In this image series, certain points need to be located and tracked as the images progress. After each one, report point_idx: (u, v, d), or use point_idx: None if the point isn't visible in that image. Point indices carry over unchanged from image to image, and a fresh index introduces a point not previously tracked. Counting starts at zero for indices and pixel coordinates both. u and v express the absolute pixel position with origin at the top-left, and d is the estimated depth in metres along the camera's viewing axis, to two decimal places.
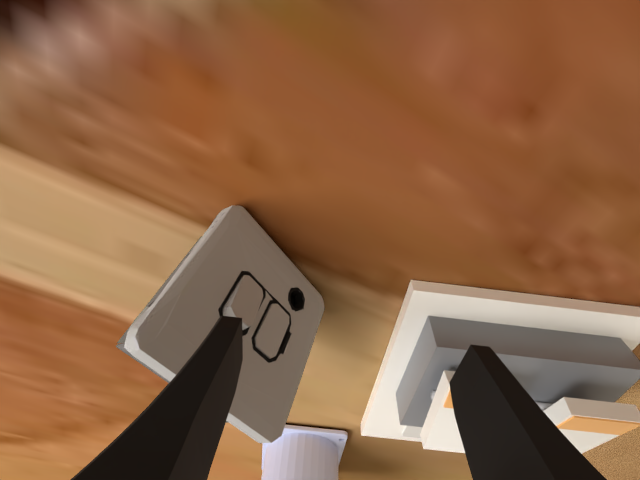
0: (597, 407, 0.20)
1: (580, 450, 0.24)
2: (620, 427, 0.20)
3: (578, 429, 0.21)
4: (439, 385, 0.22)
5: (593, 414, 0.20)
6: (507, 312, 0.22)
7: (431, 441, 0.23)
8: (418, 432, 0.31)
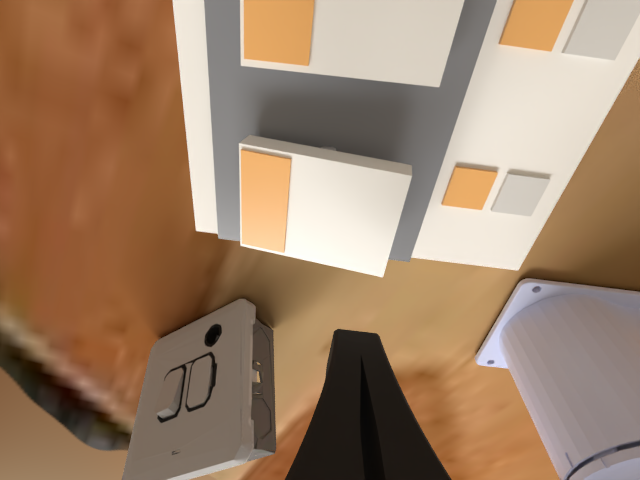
0: None
1: None
2: None
3: (305, 13, 0.09)
4: None
5: (242, 5, 0.09)
6: (204, 114, 0.15)
7: (366, 266, 0.14)
8: (524, 191, 0.17)
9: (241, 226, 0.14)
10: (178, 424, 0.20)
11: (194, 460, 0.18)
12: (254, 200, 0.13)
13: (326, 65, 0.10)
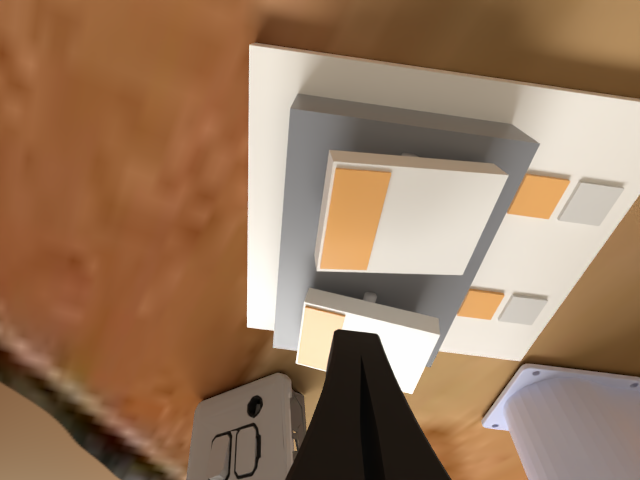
0: (320, 221, 0.13)
1: (487, 185, 0.12)
2: (352, 193, 0.11)
3: (368, 243, 0.13)
4: None
5: (322, 237, 0.13)
6: (264, 249, 0.19)
7: None
8: (526, 308, 0.20)
9: (298, 351, 0.17)
10: None
11: None
12: (311, 337, 0.16)
13: (379, 268, 0.13)
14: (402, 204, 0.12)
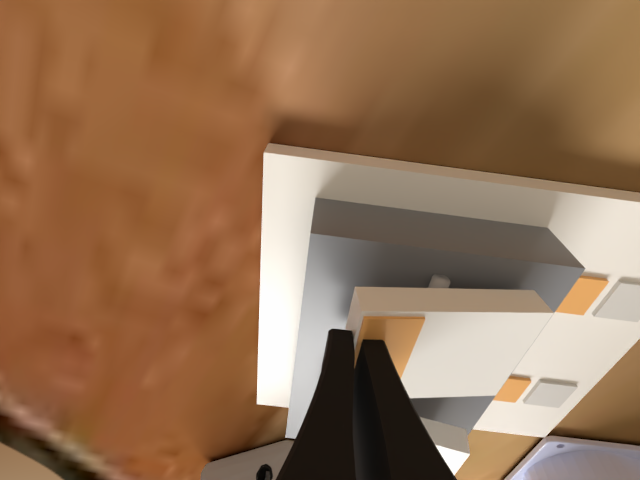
0: None
1: (530, 322, 0.11)
2: (381, 338, 0.10)
3: None
4: None
5: None
6: (276, 336, 0.18)
7: None
8: (554, 393, 0.19)
9: None
10: None
11: None
12: None
13: None
14: (435, 342, 0.11)
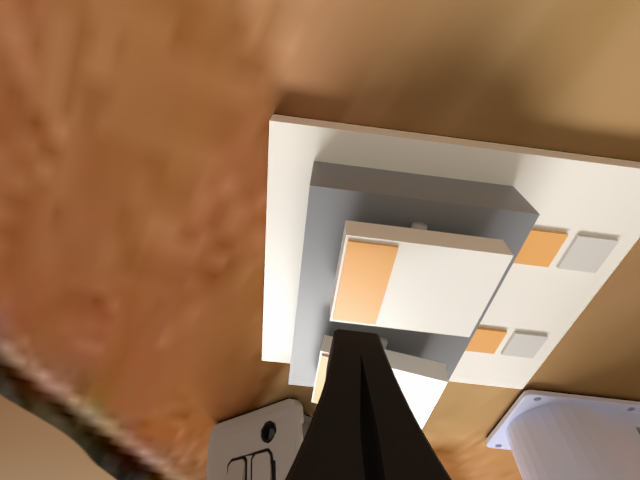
0: (336, 278, 0.14)
1: (492, 262, 0.13)
2: (362, 261, 0.13)
3: (376, 303, 0.14)
4: None
5: None
6: (280, 293, 0.20)
7: None
8: (527, 343, 0.21)
9: (314, 392, 0.18)
10: None
11: None
12: None
13: (387, 323, 0.15)
14: (409, 273, 0.13)
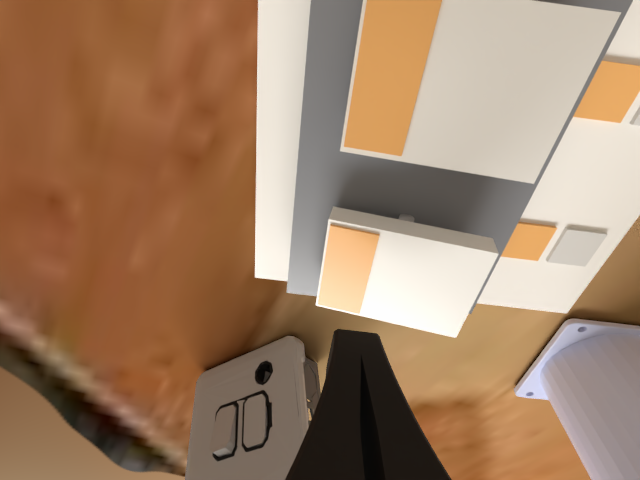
0: None
1: (585, 29, 0.08)
2: (388, 30, 0.09)
3: (405, 114, 0.10)
4: None
5: None
6: (276, 175, 0.16)
7: (440, 327, 0.14)
8: (581, 244, 0.17)
9: (319, 289, 0.14)
10: (236, 463, 0.20)
11: None
12: (336, 268, 0.14)
13: (418, 156, 0.11)
14: (455, 55, 0.09)
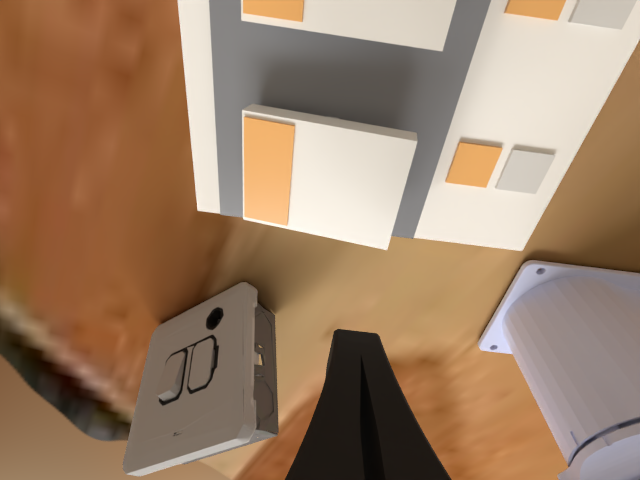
0: None
1: None
2: None
3: None
4: None
5: None
6: (206, 88, 0.15)
7: (370, 238, 0.14)
8: (529, 167, 0.16)
9: (244, 198, 0.14)
10: (180, 406, 0.20)
11: (196, 440, 0.18)
12: (257, 170, 0.13)
13: (320, 22, 0.10)
14: None
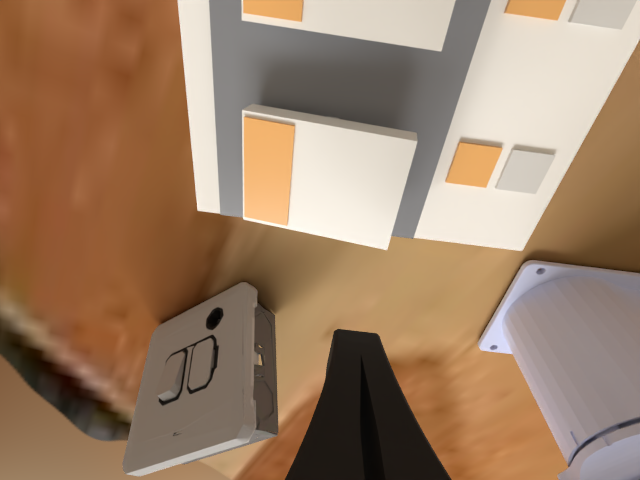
0: None
1: None
2: None
3: None
4: None
5: None
6: (206, 88, 0.15)
7: (370, 238, 0.14)
8: (529, 167, 0.16)
9: (244, 198, 0.14)
10: (179, 406, 0.20)
11: (196, 440, 0.18)
12: (257, 170, 0.13)
13: (318, 22, 0.10)
14: None
